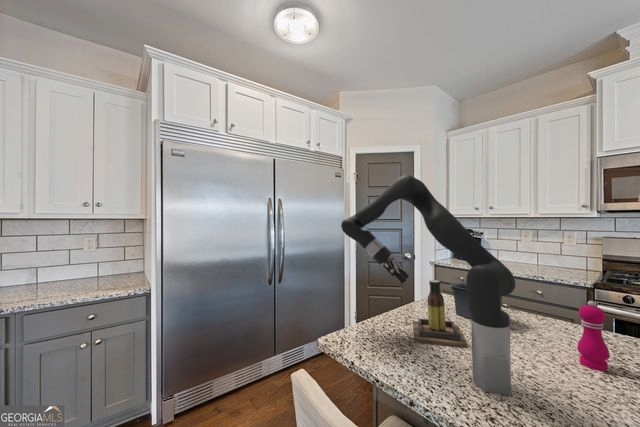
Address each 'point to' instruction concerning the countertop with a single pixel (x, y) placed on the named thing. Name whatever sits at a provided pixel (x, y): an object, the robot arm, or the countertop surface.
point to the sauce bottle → (436, 308)
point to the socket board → (438, 334)
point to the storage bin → (462, 299)
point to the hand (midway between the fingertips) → (406, 279)
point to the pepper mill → (592, 338)
